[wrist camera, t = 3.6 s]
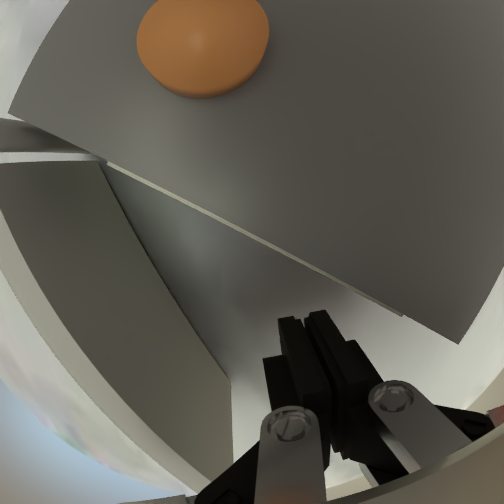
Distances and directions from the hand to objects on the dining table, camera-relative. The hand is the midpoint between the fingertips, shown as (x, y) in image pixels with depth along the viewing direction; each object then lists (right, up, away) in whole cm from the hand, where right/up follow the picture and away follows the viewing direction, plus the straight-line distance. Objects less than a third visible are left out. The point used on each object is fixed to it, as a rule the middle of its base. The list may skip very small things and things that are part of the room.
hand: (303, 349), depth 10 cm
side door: (-7, +2, +4) cm, 8 cm away
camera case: (+1, +11, +2) cm, 11 cm away
